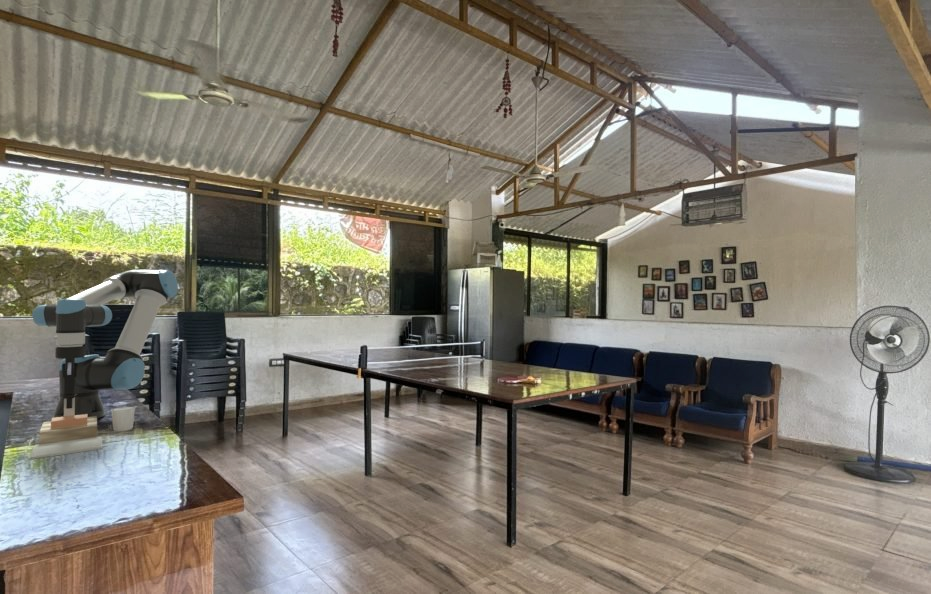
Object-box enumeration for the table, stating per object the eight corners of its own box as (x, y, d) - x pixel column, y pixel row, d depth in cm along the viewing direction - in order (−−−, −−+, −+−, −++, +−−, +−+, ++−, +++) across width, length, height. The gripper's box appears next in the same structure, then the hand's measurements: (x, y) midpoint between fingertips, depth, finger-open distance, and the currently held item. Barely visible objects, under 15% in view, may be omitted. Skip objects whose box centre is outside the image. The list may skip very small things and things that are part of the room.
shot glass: (113, 427, 171) (113, 407, 171) (136, 425, 174) (136, 405, 174) (108, 432, 165) (108, 411, 165) (133, 430, 168) (133, 409, 168)
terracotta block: (52, 424, 159) (52, 417, 159) (87, 420, 164) (87, 414, 164) (50, 428, 154) (50, 421, 154) (87, 424, 159) (87, 417, 159)
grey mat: (34, 447, 148) (34, 445, 148) (100, 438, 157) (100, 436, 157) (29, 459, 137) (29, 457, 137) (101, 448, 146) (101, 446, 146)
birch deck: (43, 434, 162) (43, 422, 162) (96, 427, 170) (96, 416, 170) (39, 445, 149) (39, 432, 149) (97, 438, 158) (97, 425, 158)
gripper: (56, 345, 165) (55, 415, 165) (54, 347, 155) (52, 423, 154) (85, 344, 170) (84, 413, 169) (84, 346, 159) (83, 420, 159)
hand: (69, 417), depth 162 cm, fingers closed
